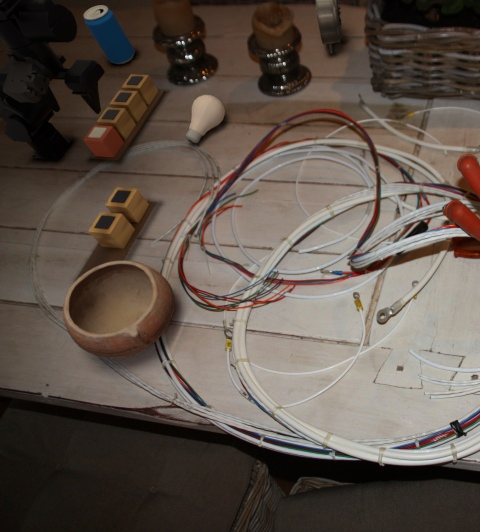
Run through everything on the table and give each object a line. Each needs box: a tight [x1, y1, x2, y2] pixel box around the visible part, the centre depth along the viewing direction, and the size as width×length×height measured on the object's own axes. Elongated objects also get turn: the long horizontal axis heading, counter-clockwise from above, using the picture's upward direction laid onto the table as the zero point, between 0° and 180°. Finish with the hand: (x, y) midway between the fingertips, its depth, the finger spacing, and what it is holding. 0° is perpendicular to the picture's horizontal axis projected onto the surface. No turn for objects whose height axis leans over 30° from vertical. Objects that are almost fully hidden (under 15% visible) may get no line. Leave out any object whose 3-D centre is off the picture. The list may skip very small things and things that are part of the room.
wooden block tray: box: [77, 186, 158, 278], centre depth 98 cm, size 7×18×5 cm, turn 168°
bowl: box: [62, 259, 175, 358], centre depth 85 cm, size 16×16×10 cm
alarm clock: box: [314, 0, 346, 55], centre depth 121 cm, size 11×5×16 cm, turn 6°
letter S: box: [82, 124, 124, 157], centre depth 112 cm, size 4×4×5 cm
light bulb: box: [185, 94, 226, 144], centre depth 113 cm, size 7×7×11 cm
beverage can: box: [83, 4, 136, 65], centre depth 129 cm, size 6×6×12 cm
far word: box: [89, 73, 166, 163], centre depth 117 cm, size 7×22×5 cm, turn 168°
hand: (78, 111), depth 105 cm, fingers open, 9 cm apart
